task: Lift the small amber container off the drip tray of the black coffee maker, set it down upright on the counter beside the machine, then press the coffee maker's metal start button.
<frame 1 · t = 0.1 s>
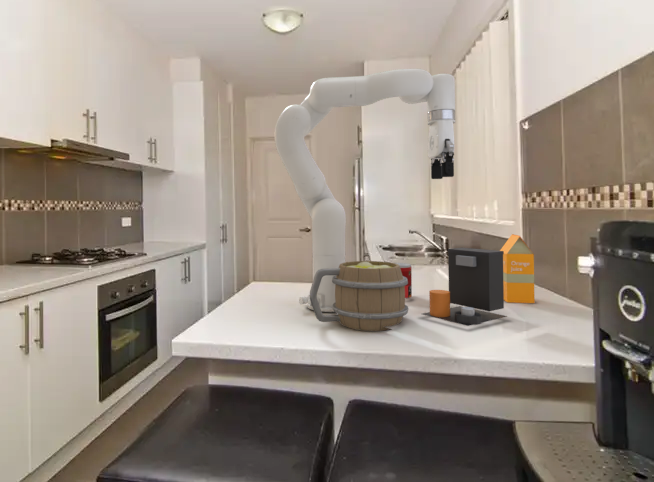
hand: (442, 177, 130), 37 cm above the countertop, tool pointing down, fingers open, 9 cm apart
mug: (358, 324, 113), on the countertop
start button: (467, 311, 110), point 3 cm above the countertop, slide at 0.1 cm
container: (439, 314, 117), point 1 cm above the countertop, touching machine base
coffee maker: (475, 316, 119), resting on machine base
orange juice: (516, 300, 139), on the countertop
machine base: (463, 319, 116), on the countertop
canned food: (398, 299, 142), on the countertop
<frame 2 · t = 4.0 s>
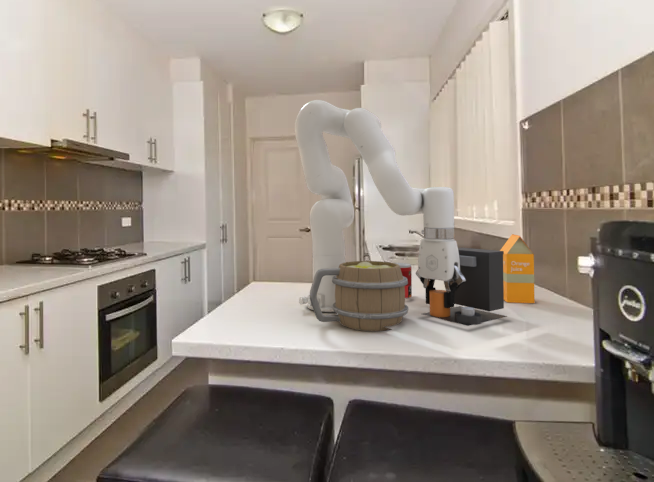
hand: (439, 304, 117), 4 cm above the countertop, tool pointing down, fingers closed on container, 5 cm apart
container: (439, 314, 117), point 1 cm above the countertop, touching gripper, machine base
everything else where it was.
when the fingers open (3 cm above the countertop, at t = 12.1 s): container stays where it is, on the countertop.
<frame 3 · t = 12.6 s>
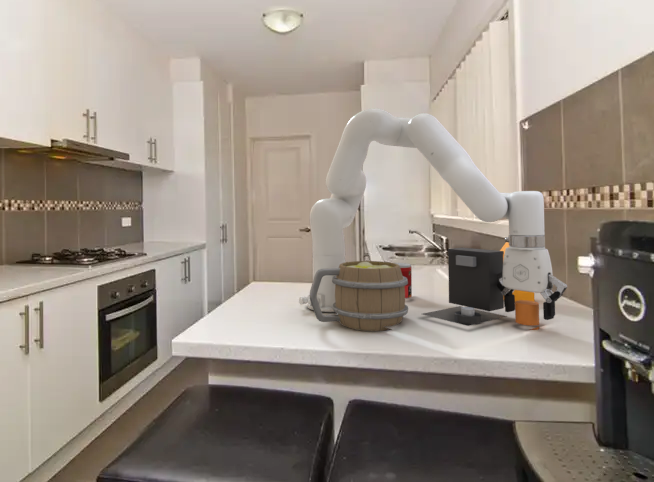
hand: (528, 314, 108), 3 cm above the countertop, tool pointing down, fingers open, 8 cm apart
container: (527, 327, 108), on the countertop
everything else where it was.
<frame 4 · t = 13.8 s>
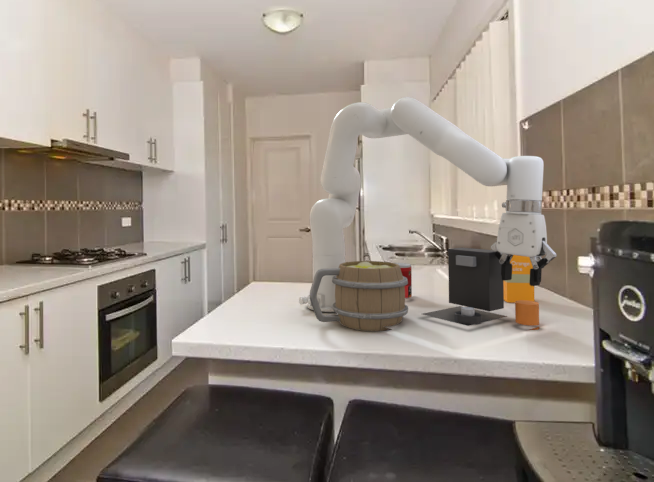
hand: (520, 281, 109), 11 cm above the countertop, tool pointing down, fingers open, 6 cm apart
nothing on the countertop moved.
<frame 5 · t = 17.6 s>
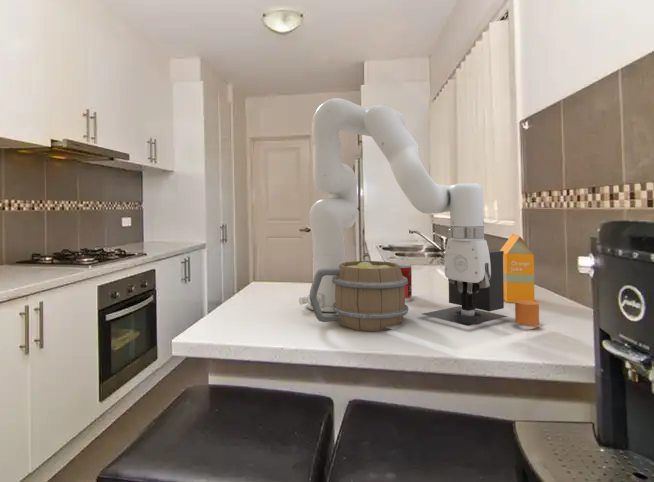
hand: (468, 309, 110), 4 cm above the countertop, tool pointing down, fingers closed
start button: (467, 312, 110), point 3 cm above the countertop, slide at -0.2 cm, touching gripper
everything else where it was.
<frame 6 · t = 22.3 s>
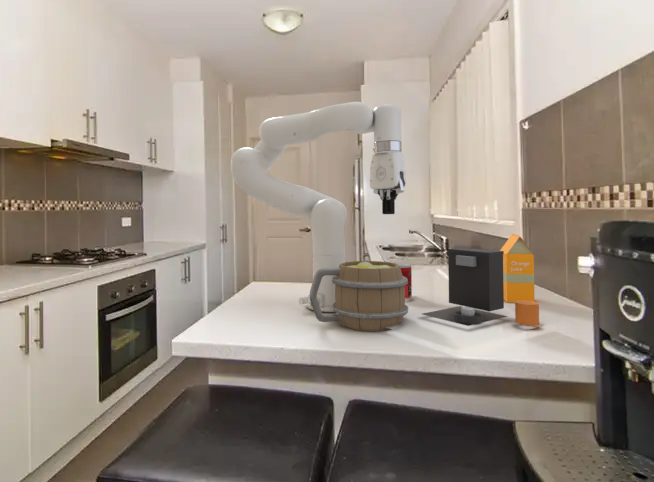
hand: (388, 214, 127), 27 cm above the countertop, tool pointing down, fingers closed
start button: (467, 311, 110), point 3 cm above the countertop, slide at 0.1 cm
everything else where it was.
at the end: container inside the target area (0.1 cm from its centre), on the countertop; start button pushed in 1.1 cm at the most during the clip and back out by the end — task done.
